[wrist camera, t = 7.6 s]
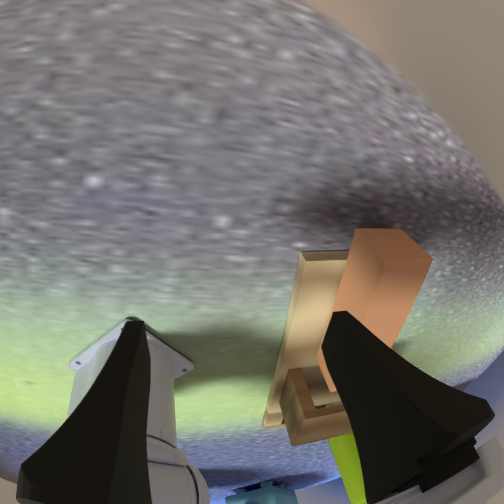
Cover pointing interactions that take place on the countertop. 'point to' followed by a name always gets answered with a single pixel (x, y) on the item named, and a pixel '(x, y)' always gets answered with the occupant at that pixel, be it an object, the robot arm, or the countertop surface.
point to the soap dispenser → (349, 466)
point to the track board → (307, 330)
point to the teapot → (263, 495)
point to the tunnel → (309, 413)
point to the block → (379, 283)
